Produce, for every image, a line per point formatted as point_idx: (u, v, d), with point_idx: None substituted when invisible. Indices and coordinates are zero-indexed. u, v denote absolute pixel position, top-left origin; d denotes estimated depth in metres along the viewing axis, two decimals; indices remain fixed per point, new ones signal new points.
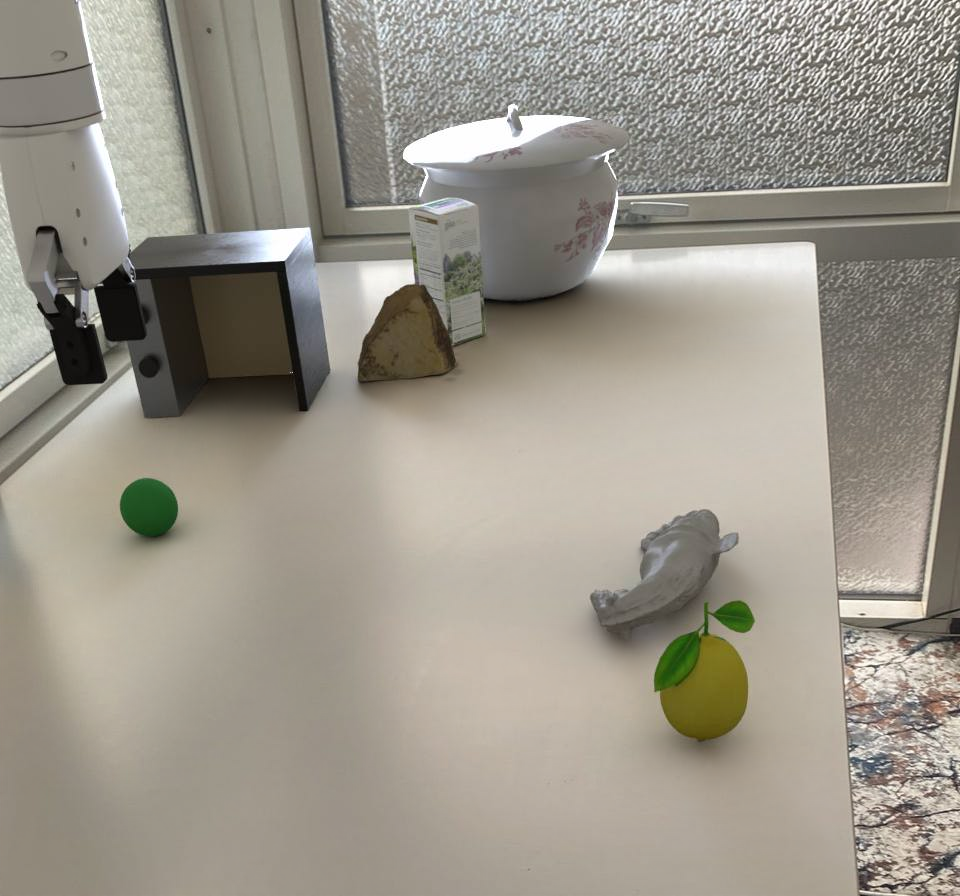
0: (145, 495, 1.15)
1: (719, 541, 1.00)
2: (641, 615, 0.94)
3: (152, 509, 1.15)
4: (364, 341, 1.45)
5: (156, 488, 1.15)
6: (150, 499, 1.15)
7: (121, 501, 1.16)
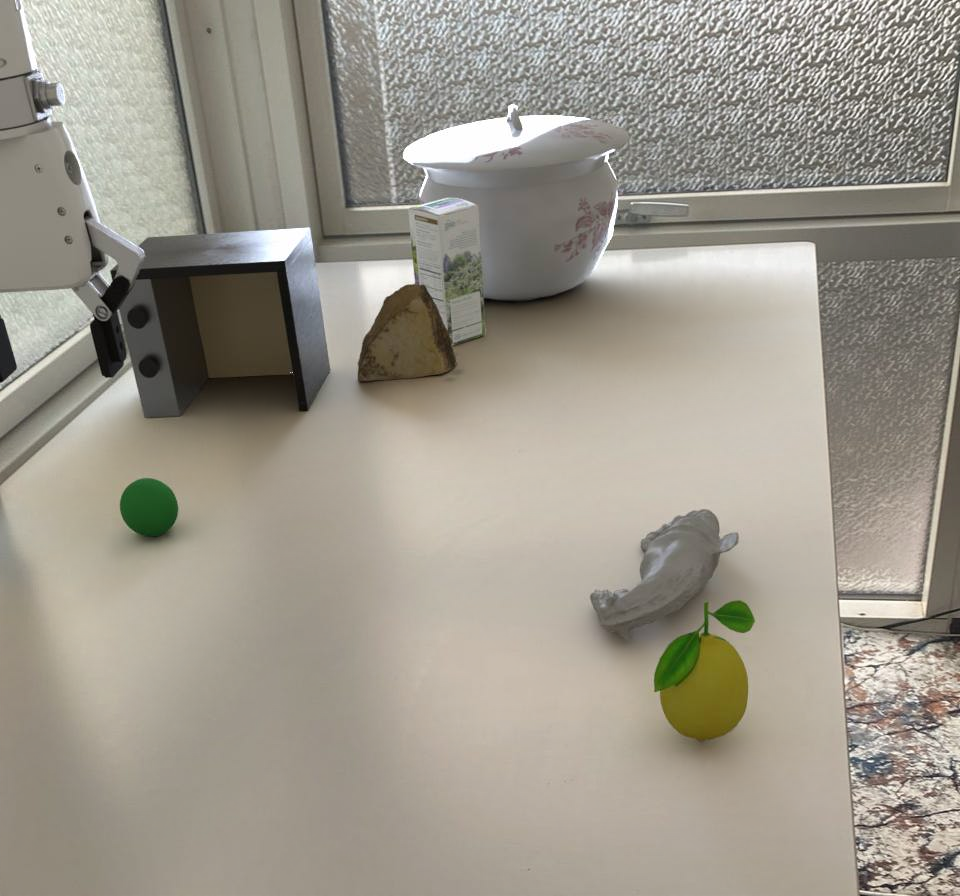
0: (145, 495, 1.15)
1: (719, 541, 1.00)
2: (641, 615, 0.94)
3: (152, 509, 1.15)
4: (364, 341, 1.45)
5: (156, 488, 1.15)
6: (150, 499, 1.15)
7: (121, 501, 1.16)
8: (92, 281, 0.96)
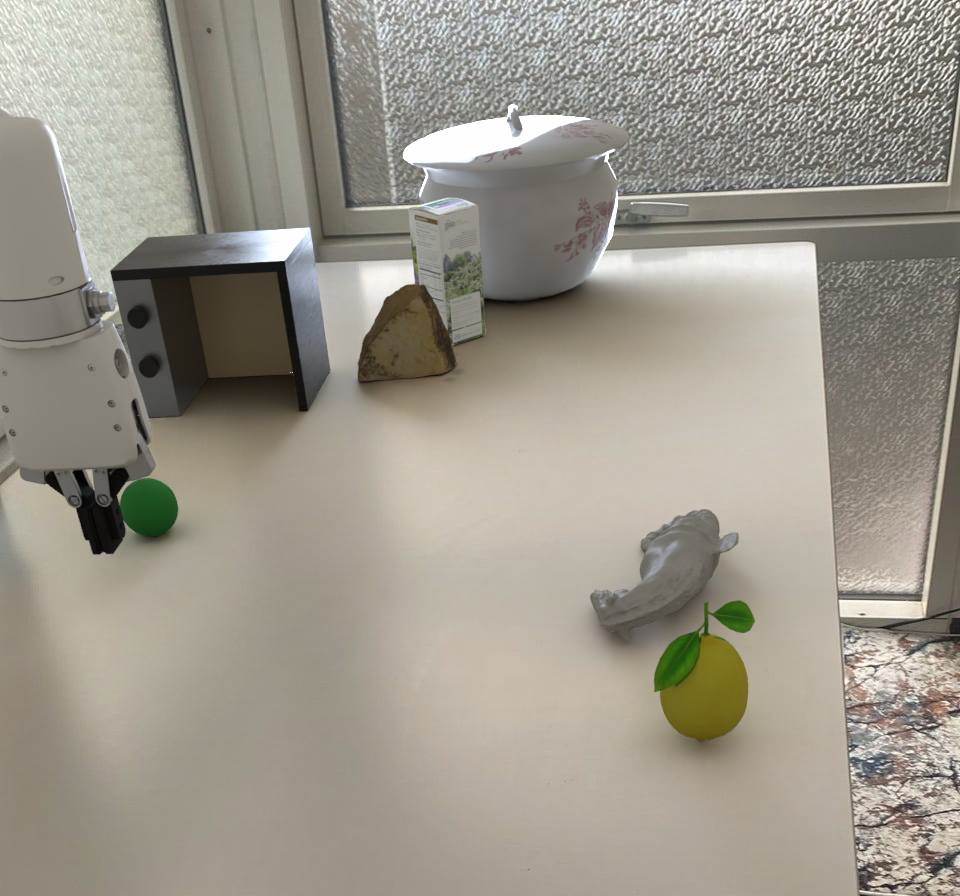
0: (145, 495, 1.15)
1: (719, 541, 1.00)
2: (641, 615, 0.94)
3: (152, 509, 1.15)
4: (364, 341, 1.45)
5: (156, 488, 1.15)
6: (150, 499, 1.15)
7: (121, 501, 1.16)
8: None
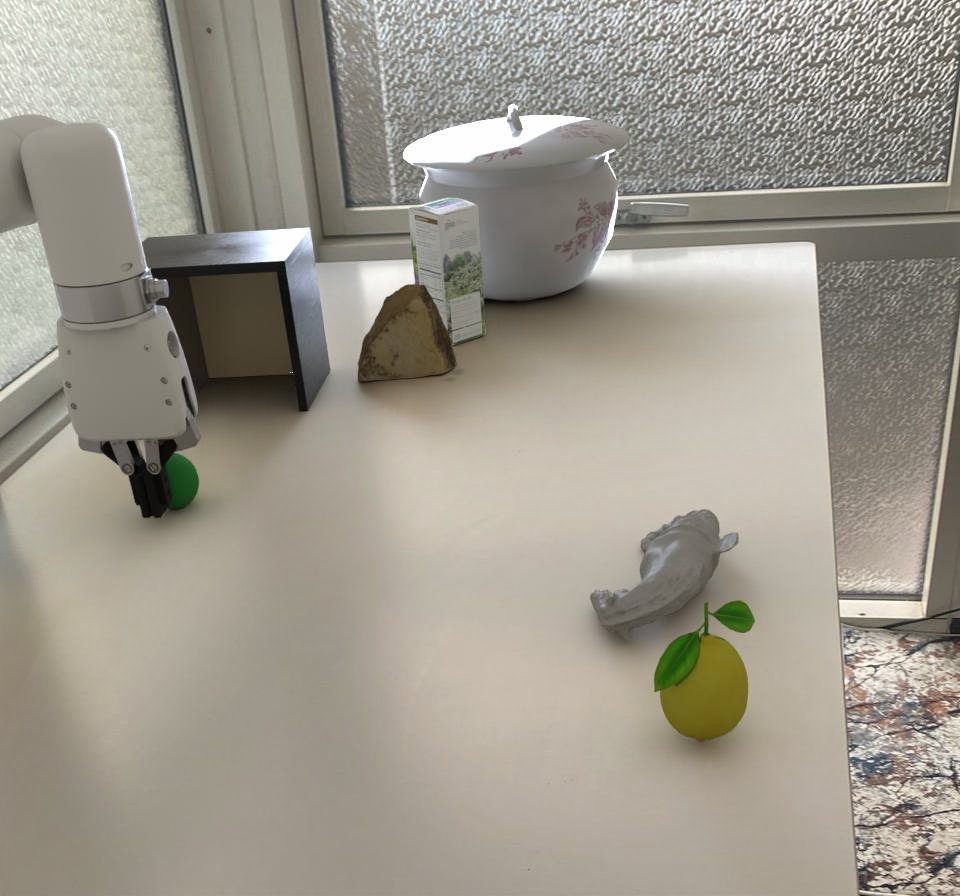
0: None
1: (719, 541, 1.00)
2: (641, 615, 0.94)
3: None
4: (364, 341, 1.45)
5: None
6: None
7: None
8: None
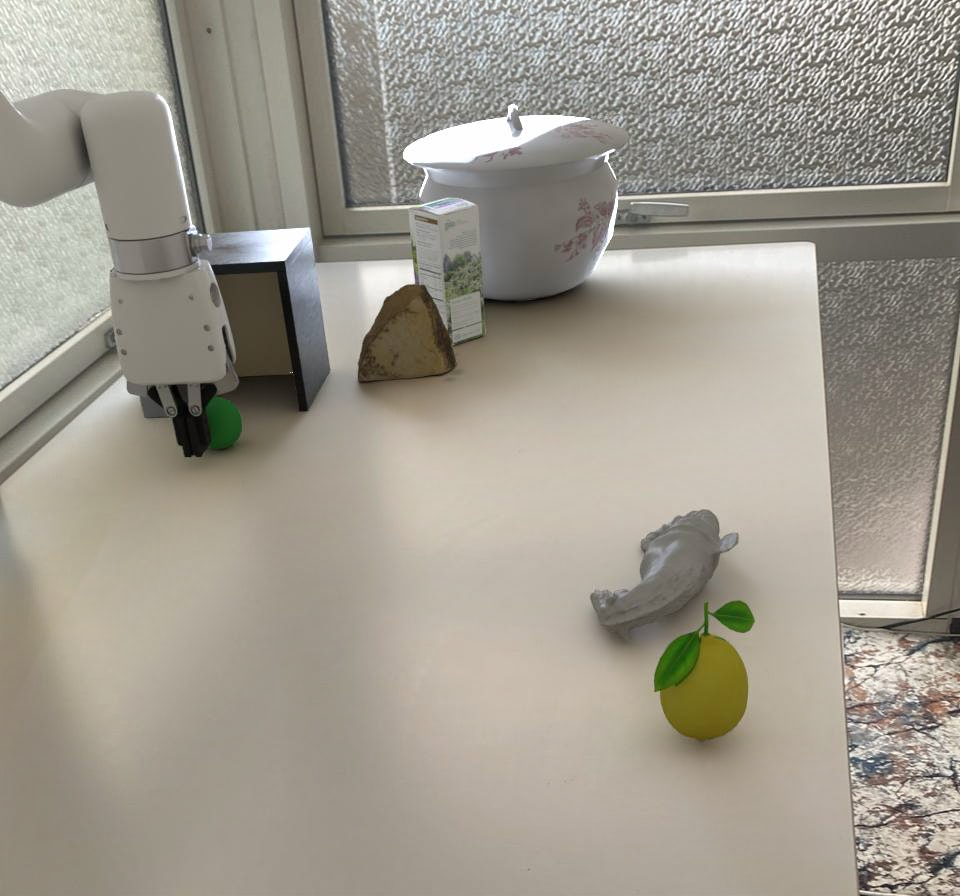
0: None
1: (719, 541, 1.00)
2: (641, 615, 0.94)
3: (228, 400, 1.32)
4: (364, 341, 1.45)
5: None
6: None
7: None
8: None
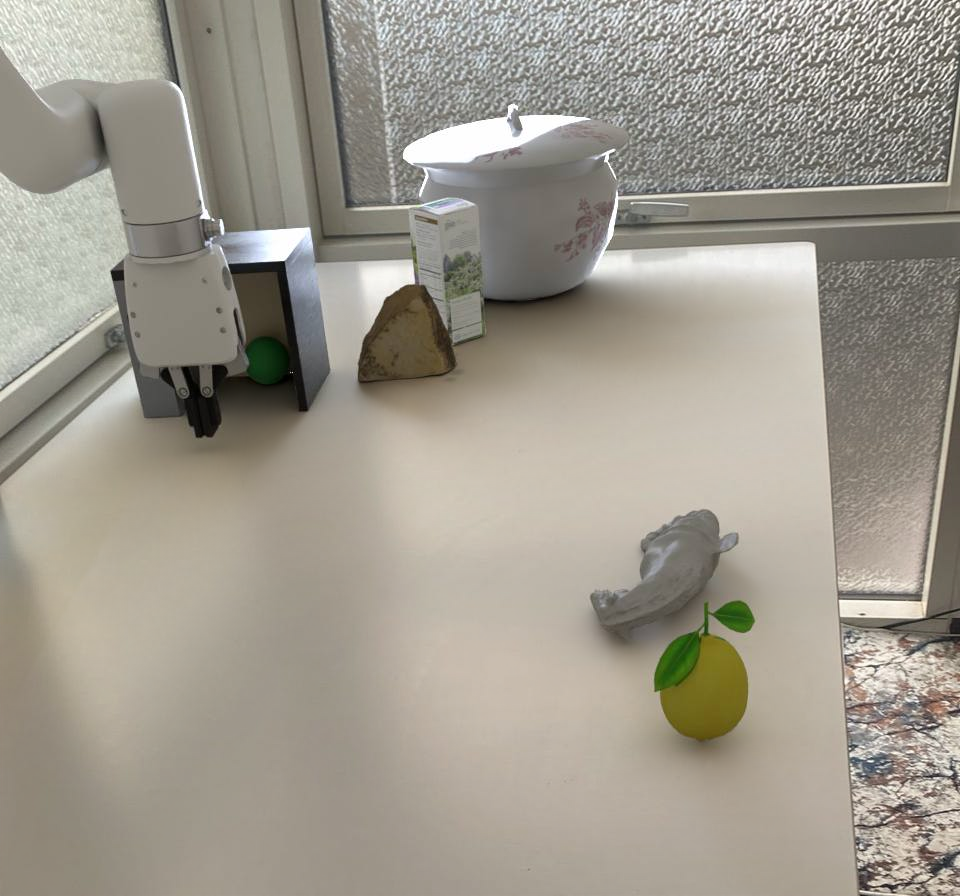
0: None
1: (719, 541, 1.00)
2: (641, 615, 0.94)
3: None
4: (364, 341, 1.45)
5: None
6: None
7: None
8: None
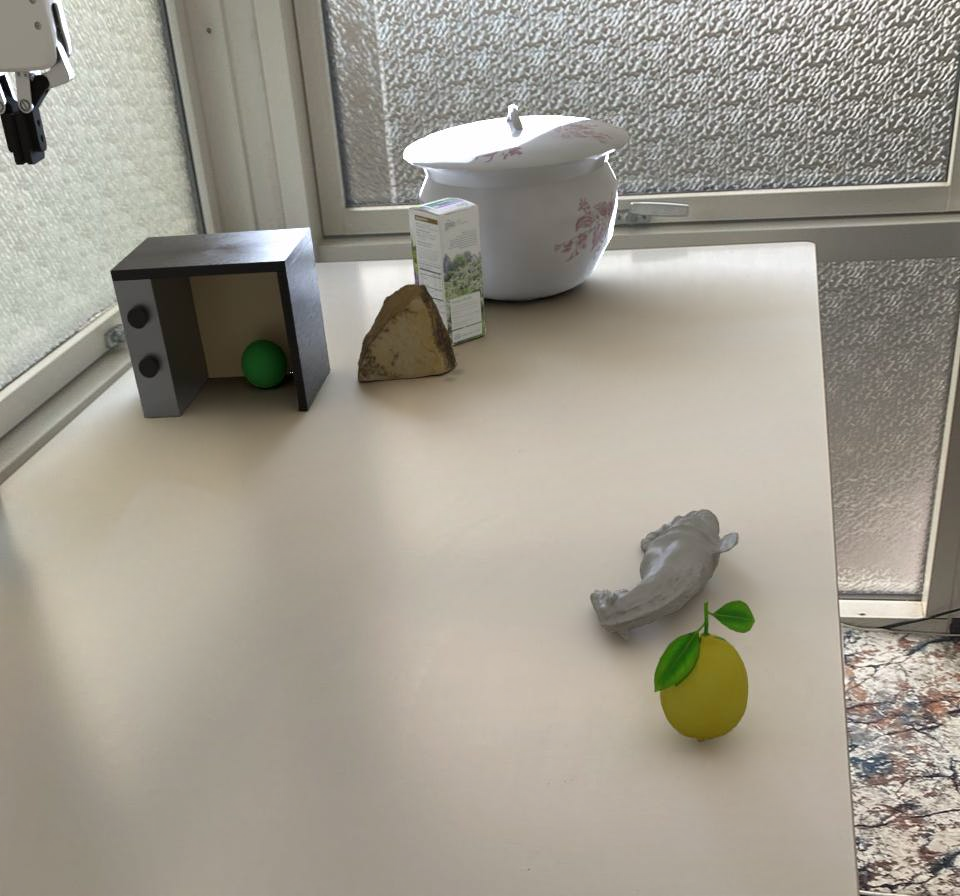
0: None
1: (719, 541, 1.00)
2: (641, 615, 0.94)
3: None
4: (364, 341, 1.45)
5: None
6: None
7: None
8: None
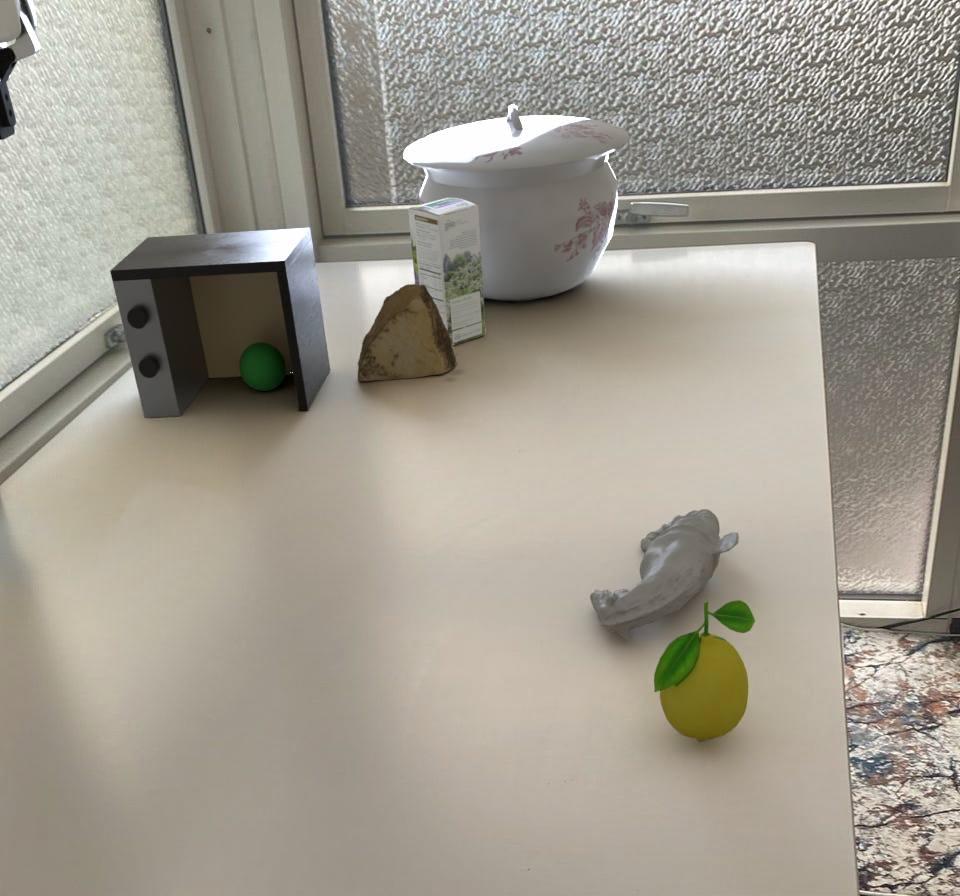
0: None
1: (719, 541, 1.00)
2: (641, 615, 0.94)
3: None
4: (364, 341, 1.45)
5: None
6: None
7: None
8: None
